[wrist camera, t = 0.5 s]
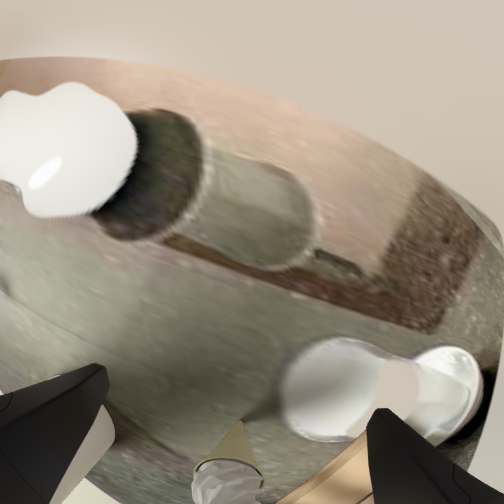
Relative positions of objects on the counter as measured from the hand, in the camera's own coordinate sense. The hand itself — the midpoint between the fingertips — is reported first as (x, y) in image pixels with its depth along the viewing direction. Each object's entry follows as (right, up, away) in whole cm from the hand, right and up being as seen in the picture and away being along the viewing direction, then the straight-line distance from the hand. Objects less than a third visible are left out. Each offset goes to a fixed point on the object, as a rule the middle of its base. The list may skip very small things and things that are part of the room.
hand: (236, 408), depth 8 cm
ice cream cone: (-1, -11, +15) cm, 19 cm away
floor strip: (+10, -21, +14) cm, 27 cm away
